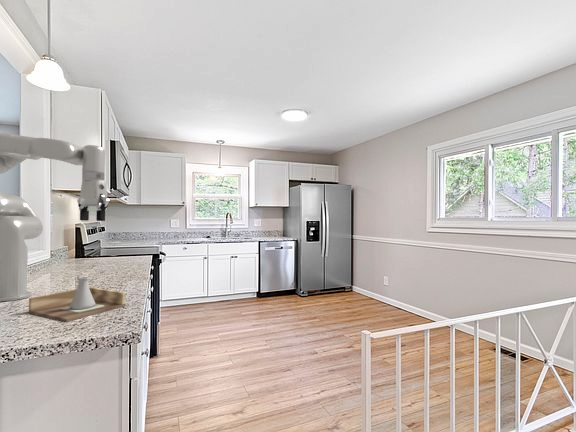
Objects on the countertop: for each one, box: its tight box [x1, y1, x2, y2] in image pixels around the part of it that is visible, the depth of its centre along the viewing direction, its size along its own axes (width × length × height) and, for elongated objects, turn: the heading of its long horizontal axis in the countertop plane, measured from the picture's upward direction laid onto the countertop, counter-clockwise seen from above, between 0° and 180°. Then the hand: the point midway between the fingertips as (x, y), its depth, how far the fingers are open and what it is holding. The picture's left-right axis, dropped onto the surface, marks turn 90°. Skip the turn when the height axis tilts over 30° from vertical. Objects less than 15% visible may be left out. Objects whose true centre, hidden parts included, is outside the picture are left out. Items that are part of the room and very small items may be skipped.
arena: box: [28, 286, 127, 323], centre depth 108 cm, size 20×20×5 cm
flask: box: [69, 276, 96, 309], centre depth 107 cm, size 7×7×10 cm
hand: (92, 220), depth 124 cm, fingers open, 9 cm apart
